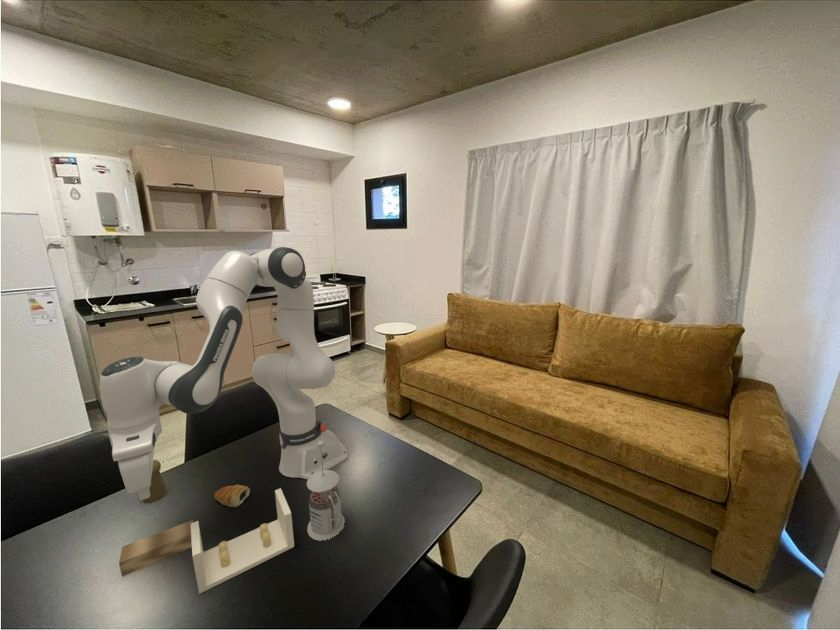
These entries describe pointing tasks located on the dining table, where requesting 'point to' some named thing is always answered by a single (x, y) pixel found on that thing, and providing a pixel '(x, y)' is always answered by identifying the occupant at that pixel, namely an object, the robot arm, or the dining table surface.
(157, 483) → the cork
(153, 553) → the shelf board
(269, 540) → the peg frame
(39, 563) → the dining table surface
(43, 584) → the dining table surface
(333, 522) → the french press
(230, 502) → the pastry
